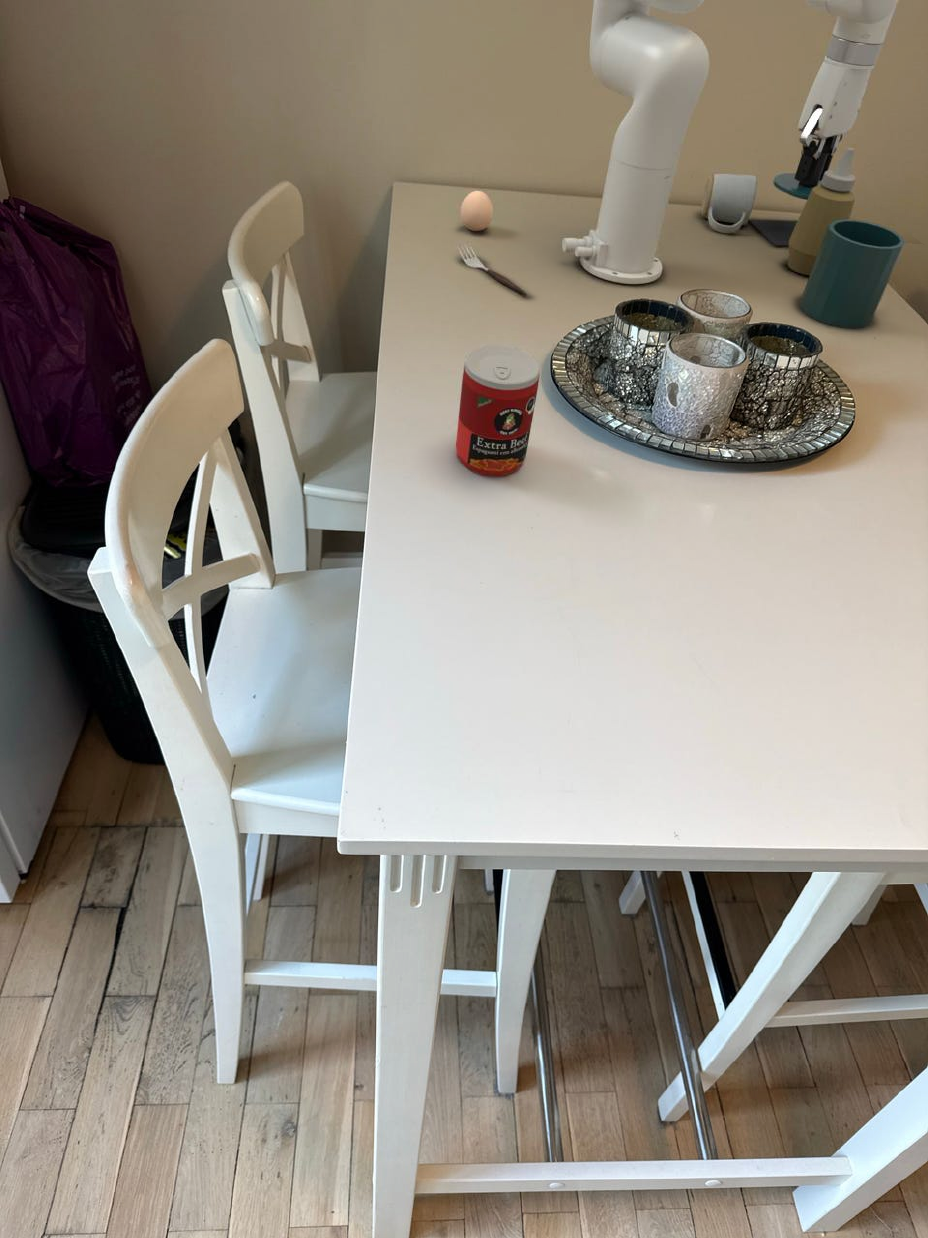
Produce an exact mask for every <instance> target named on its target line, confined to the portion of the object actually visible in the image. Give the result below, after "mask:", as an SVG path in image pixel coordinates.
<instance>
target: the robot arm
mask: <svg viewBox="0 0 928 1238" xmlns="http://www.w3.org/2000/svg"><path fill="white" fill-rule="evenodd" d="M899 1H900V0H803V2H804V3H805V4H806V5H807V6H808V7H810V8H812V9H814V10H816V11H819V12H822V13H826V14H829V15H832V16H837V19H836V22H835V25H834V28H833V30H832V35H831V37H830V40H829V43H828V46H827V49H826V51H825V56H824V61H823V62H822V64H821V65H820V67H819V70H818V72H817V74H816V76H815V78H814V81H813V83H812V84H811V88H810V91H809V93H808V95H807V98H806V101H805V103H804V106H803V109H802V111H801V115H800V118H799V121H798V125H797V130H798V131H799V132H801V135H800V137H799V140H798V141H799V142H800V144H802V148H801V157H800V159H799V161H798V162H799V163H798V166H797V169H796V172H795V173H796V174H795V180H797V181H800V182H803V183H805V184H808V185H810V184H812V183H813V180H814V177H815V175H816V172H817V169H818V166H819V163H820V160H821V159H820V158H818V157H819V156H820V153H821V151H822V150H825V151H827V152H828V156H827V159H826V162H825V165H824V168H823V171H822V173H821V176H820V179H819V181H822V179H823V176H824V173H825V172H826V171H828V170H830V169H829V168H830V166H831V163H832V160H833V157H834V155H835V154H836V153H837V151H838V150H837V149H838V146H839V143H840V142H841V141H842V139H843V138H844V137H845V136H846V135H847V133H849V131H850V130H852V129H853V127H854V124H855V122H856V120H857V117H858V114H859V111H860V108H861V106H862V102H863V100H864V96H865V94H866V90H867V87H868V83H869V79H870V75H871V72H872V70H874V68H875V67H876V63H877V60H878V58H879V55H880V52H881V50H882V48H883V43H884V42H885V39H886V35H887V33H888V30H889V28H890V24H891V21H892V19H893V16H894V14H895V10H896V8H897V5H898V3H899ZM704 2H705V0H593V6H592V7H593V8H592V15H591V16H592V17H591V24H590V26H591V28H590V37H589V64H590V68H591V72H592V74H593V76H594V78H595V79H596V80H597V82H598V83H599V84H600V85H602V86H603V87H605V88H607V89H608V90H611V91H613V92H615V93H618V94H619V95H622V96H624V97H626V98H628V99H630V100H632V101H633V103H632V104H631V105H632V106H631V107H630V109H629V110H628V112H627V113H626V114H625V116H624V117H623V119H622V120H621V122H620V124H619V126H618V127H617V130H616V131H615V134H614V138H613V141H612V146H611V151H610V158H609V163H608V168H607V174H606V178H605V183H604V188H603V193H602V199H601V203H600V209H599V213H598V219H597V224H596V228H595V229H590V230H589V233H588V235H584V236H583V237H582V238H576V237H564V238H563V239H562V242H561V247H562V248H561V249H562V251H563V253H564V252H567V253H568V252H571V253H572V252H574V255H575V256H574V257H577V258H580V259H579V262H580V265H581V266H582V268H583V269H584V270H585V271H587V272H588V273H589V274H591V275H593V276H595V277H597V278H599V279H602V280H605V281H609V282H613V283H616V284H617V283H618V284H625V285H642V284H648V283H652V282H654V281H656V280H658V279H659V278H660V277H661V275H662V272H663V268H664V267H663V263H662V262H661V260H660V259H659V258H657V257H656V254H657V250H658V246H659V242H660V238H661V233H662V230H663V227H664V226H663V225H664V221H665V218H666V213H667V209H668V205H669V202H670V201H669V200H670V197H671V193H672V189H673V185H674V181H675V177H676V172H677V168H678V164H679V159H680V156H681V151H682V149H683V145H684V140H685V136H686V133H687V130H688V126H689V123H690V120H691V118H692V115H693V113H694V111H695V108H696V106H697V103H698V101H699V99H700V97H701V94H702V92H703V90H704V87H705V85H706V82H707V79H708V75H709V70H710V56H709V51H708V48H707V46H706V44H705V43H704V41H703V40H702V38H701V37H699V35H698V34H696V33H695V32H694V31H693V30H690V29H689V28H687V27H684V26H682V25H680V24H676V23H673V22H671V21H668V20H665V19H662V18H658V17H655V16H652V15H650V13H651V8H653V9H656V10H660V11H661V12H665V13H670V14H675V15H683V14H689V13H692V12H694V11H696V10H697V9H699V7H701V5H702V4H703V3H704ZM816 131H818V132H817V133H815V132H816Z"/></svg>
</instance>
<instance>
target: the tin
mask: <svg viewBox="0 0 928 1238" xmlns="http://www.w3.org/2000/svg"><path fill="white" fill-rule="evenodd" d="M905 245H906V241H905V239H904V237H903V236H902V235H901V234H899V233H898V232H896V231H895V230H893V229H891V228H888V227H886V226H884V225H880V224H877V223H873V222H870V221H867V220H865V221H864V220H860V219H851V218H849V219H841V220H836V221H833V222H831V223H830V224H829V225H828V228H827V231H826V233H825V236H824V239H823V242H822V244H821V247H820V250H819V252H818V255H817V258H816V260H815V263H814V266H813V268H812V271H811V274H810V276H809V275H808V276H809V277H808V279H807V282H806V285H805V288H804V290H803V292H802V295H801V298H800V303H799V307H800V308H801V310H802V311H803V313H805V314H806V316H809V317H810V318H812V319H813V320H815V321H818V322H821V323H823V324H826V325H829V326H834V327H838V328H844V329H860V328H864V327H866V326H868V325H869V324H870V323H871V321H872V319H873V318H874V315H875V313H876V311H877V309H878V307H879V304H880V302H881V299H882V297H883V295H884V293H885V291H886V288H887V286H888V284H889V282H890V278H891V277H892V274H893V273H894V270H895V267H896V265H897V263H898V261H899V258H900V256H901V254H902V252H903V250H904V247H905Z"/></svg>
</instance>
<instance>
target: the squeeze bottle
mask: <svg viewBox="0 0 928 1238" xmlns="http://www.w3.org/2000/svg"><path fill="white" fill-rule="evenodd" d="M854 151H855V148H852V147H849V146H848V147H845V149H844V151H843V152H842V154H841V156H840V157H839V159H838V160H837V162H836V164H835V166H834V168H833V169H828V171H826V172H825V173H824V176H823V179H822V181H821V184H820V185H818V186H816V187H814V188H812V191H811V193H810V195H809V197H808V200H806V202H805V204H804V206H803V209H802V210H801V213H800V215H799V217H798V219H797V221H798V222H797V224H796V226H795V228H794V230H793V233H792V235H791V237H790V239H789V247H788V253H787V254H788V256H787V257H788V258H787V259H788V260H787V261H788V262H787V266H788V268H789V269H790V270H792V271H793V272H795V273H799V274H802V275H806V276H810V274H811V271H812V268H813V266H814V263H815V260H816V258H817V255H818V252H819V250H820V247H821V244H822V242H823V239H824V236H825V233H826V231H827V228H828V225H829V224H830V223H831V222H833V221H836V220H841V219H851V215H852V211H853V208H854V204H855V201H856V196H855V195H854V192H853V191H852V190H853V188H854V185H855V182H856V176H855V175H853V174H851V170H852V164H853V159H854V154H855V153H854Z"/></svg>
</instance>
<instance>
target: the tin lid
mask: <svg viewBox="0 0 928 1238" xmlns="http://www.w3.org/2000/svg"><path fill="white" fill-rule="evenodd" d="M827 156H828V152H827V151H825V150H822V151H821V153H820V156H819V157H818V158H820V159H821V160H820V163H819V166H818V169H817V172H816V175H815V177H814V180H813V183H812V184H810V185H808V184H805V183H803V182H800V181H797V180H795V174H796V172H795V173H794V172H788V173H787V172H786V173H780V174H777V175H776V176H775V177H774V179H773V180H772V183H773V186H774V187H775V188H776V189H778V190H779V191H781V192H783V193H785V194H787V195H790V196H792V197H794V198H796V199H797V198H798V199H800V200H806V201H807V200H808V197H809V195H810V193H811V191H812V188H814V187H816V186H818V185H820V184H821V181H819V179H820V176H821V173H822V171H823V168H824V165H825V162H826V159H827Z"/></svg>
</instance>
